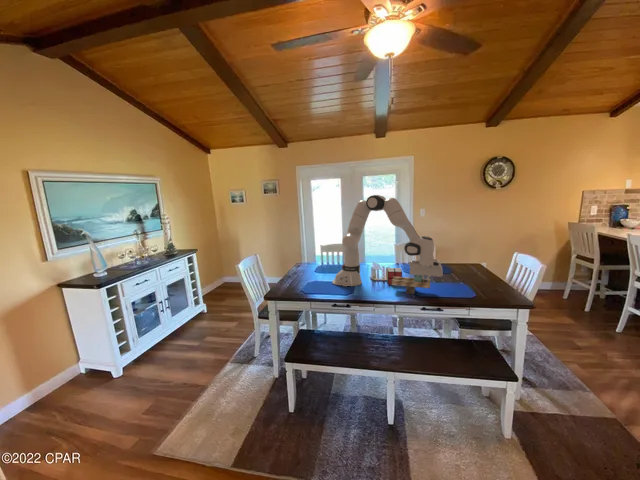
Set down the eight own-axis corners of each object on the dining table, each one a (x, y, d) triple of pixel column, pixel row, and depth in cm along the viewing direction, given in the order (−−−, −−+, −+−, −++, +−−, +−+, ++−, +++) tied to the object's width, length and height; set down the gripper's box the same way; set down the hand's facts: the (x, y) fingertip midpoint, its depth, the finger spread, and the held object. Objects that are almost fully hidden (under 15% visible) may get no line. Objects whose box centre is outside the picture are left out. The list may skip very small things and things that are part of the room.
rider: (414, 283, 180) (414, 276, 179) (414, 281, 184) (414, 274, 183) (421, 284, 178) (421, 276, 177) (421, 282, 182) (421, 274, 182)
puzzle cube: (402, 285, 198) (402, 271, 196) (387, 284, 200) (387, 271, 198) (400, 280, 208) (400, 268, 206) (387, 280, 210) (387, 267, 208)
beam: (391, 292, 185) (391, 280, 183) (393, 287, 193) (393, 276, 191) (429, 296, 175) (429, 283, 174) (430, 291, 184) (430, 278, 182)
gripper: (409, 261, 178) (408, 281, 180) (443, 263, 170) (442, 284, 172) (409, 259, 184) (409, 278, 186) (443, 261, 176) (442, 281, 178)
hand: (425, 281), depth 179 cm, fingers closed
